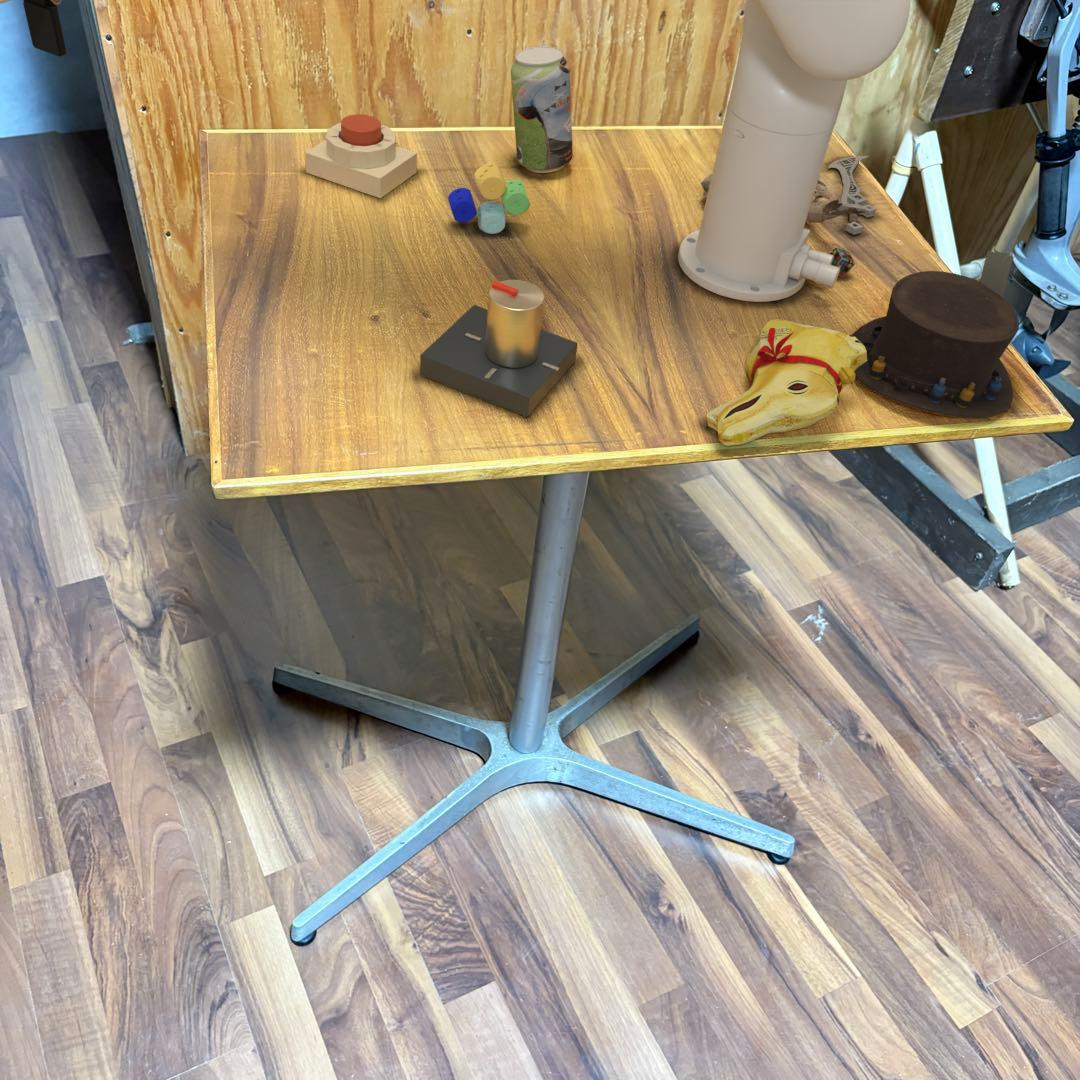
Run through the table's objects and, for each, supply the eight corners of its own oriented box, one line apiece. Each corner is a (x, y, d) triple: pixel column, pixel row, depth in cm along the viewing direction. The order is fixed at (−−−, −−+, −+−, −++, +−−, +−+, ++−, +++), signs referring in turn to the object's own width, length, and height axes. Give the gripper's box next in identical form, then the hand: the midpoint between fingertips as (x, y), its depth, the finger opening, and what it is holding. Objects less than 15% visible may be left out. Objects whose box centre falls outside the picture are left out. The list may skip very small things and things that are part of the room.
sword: (829, 231, 112) (877, 239, 112) (831, 224, 111) (879, 231, 111) (826, 153, 126) (869, 159, 126) (828, 146, 126) (871, 152, 125)
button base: (416, 172, 112) (417, 135, 110) (380, 198, 108) (380, 160, 105) (344, 148, 115) (343, 111, 112) (306, 172, 110) (303, 135, 107)
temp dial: (547, 348, 89) (554, 287, 85) (522, 374, 86) (529, 313, 82) (500, 330, 90) (505, 269, 86) (474, 356, 87) (479, 294, 83)
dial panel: (578, 363, 91) (581, 342, 90) (530, 418, 85) (533, 397, 84) (472, 323, 94) (474, 302, 92) (419, 374, 88) (420, 353, 86)
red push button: (388, 138, 109) (388, 121, 108) (367, 152, 107) (366, 135, 106) (355, 127, 110) (355, 110, 109) (333, 140, 108) (332, 123, 107)
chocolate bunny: (885, 381, 89) (792, 484, 81) (770, 358, 96) (674, 452, 88) (882, 308, 85) (784, 410, 77) (762, 290, 91) (661, 382, 84)
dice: (448, 234, 104) (451, 171, 100) (445, 220, 106) (448, 158, 101) (529, 234, 106) (535, 173, 101) (525, 220, 107) (531, 160, 103)
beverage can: (571, 182, 114) (585, 68, 106) (502, 175, 114) (511, 60, 105) (571, 155, 119) (584, 44, 110) (505, 149, 118) (513, 37, 110)
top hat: (1016, 444, 89) (1073, 340, 82) (838, 402, 91) (877, 296, 83) (1007, 346, 100) (1056, 246, 92) (847, 311, 101) (882, 209, 94)
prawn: (827, 109, 119) (787, 161, 124) (747, 70, 114) (709, 126, 118) (913, 251, 105) (865, 303, 109) (827, 214, 99) (780, 271, 103)
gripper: (-124, -142, 69) (-48, 117, 82) (75, -182, 81) (116, 50, 93) (-204, -166, 71) (-118, 89, 84) (1, -202, 83) (50, 28, 95)
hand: (5, 69), depth 88 cm, fingers open, 9 cm apart
